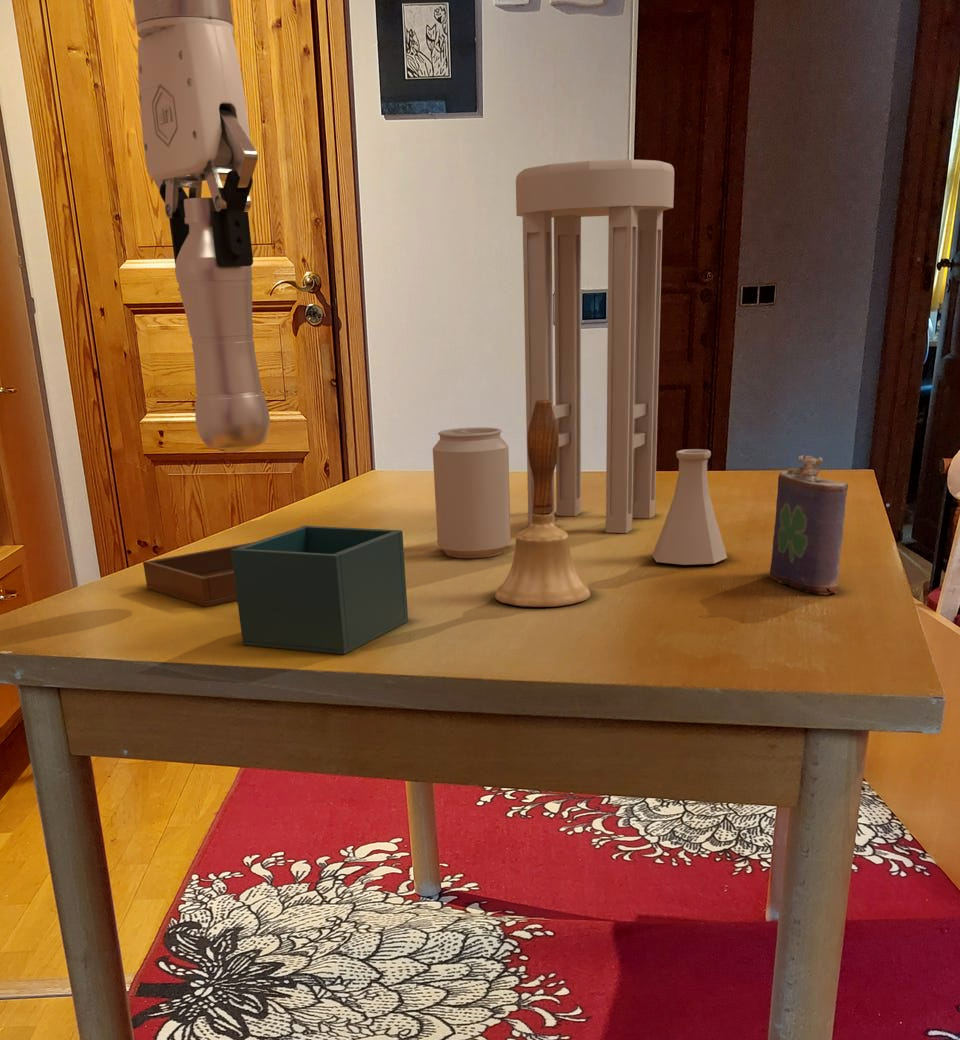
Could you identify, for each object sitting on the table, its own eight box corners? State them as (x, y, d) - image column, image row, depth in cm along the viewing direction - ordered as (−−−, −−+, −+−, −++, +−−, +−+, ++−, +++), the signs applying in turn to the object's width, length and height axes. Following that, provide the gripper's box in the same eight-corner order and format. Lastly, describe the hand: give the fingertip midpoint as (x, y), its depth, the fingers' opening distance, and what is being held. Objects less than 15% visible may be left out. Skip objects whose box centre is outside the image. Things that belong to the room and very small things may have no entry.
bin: (344, 654, 87) (335, 555, 84) (242, 644, 91) (230, 549, 88) (408, 621, 96) (402, 530, 92) (312, 613, 99) (304, 525, 96)
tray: (205, 607, 103) (201, 578, 102) (146, 588, 110) (142, 561, 109) (355, 575, 112) (353, 549, 111) (291, 560, 120) (289, 535, 119)
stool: (504, 532, 130) (494, 167, 115) (552, 508, 142) (549, 178, 127) (639, 537, 124) (647, 154, 109) (676, 512, 137) (688, 167, 121)
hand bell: (561, 581, 106) (560, 394, 100) (608, 599, 100) (610, 399, 93) (479, 593, 103) (472, 401, 96) (521, 613, 97) (517, 407, 90)
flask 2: (844, 593, 98) (856, 460, 94) (812, 597, 98) (823, 463, 93) (789, 572, 106) (798, 448, 102) (760, 575, 106) (767, 451, 101)
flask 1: (731, 553, 115) (737, 446, 111) (722, 568, 109) (728, 456, 104) (658, 551, 117) (661, 446, 113) (645, 566, 111) (647, 456, 107)
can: (512, 558, 117) (509, 431, 111) (437, 561, 117) (430, 434, 111) (509, 543, 123) (506, 423, 118) (438, 546, 123) (432, 426, 118)
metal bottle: (288, 447, 107) (262, 197, 98) (230, 456, 102) (197, 194, 93) (242, 444, 110) (213, 203, 102) (184, 453, 106) (148, 201, 97)
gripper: (91, 28, 96) (127, 273, 104) (194, -16, 84) (227, 264, 92) (174, 37, 100) (203, 271, 108) (283, -4, 88) (307, 263, 96)
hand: (213, 265), depth 100 cm, fingers closed on metal bottle, 6 cm apart
